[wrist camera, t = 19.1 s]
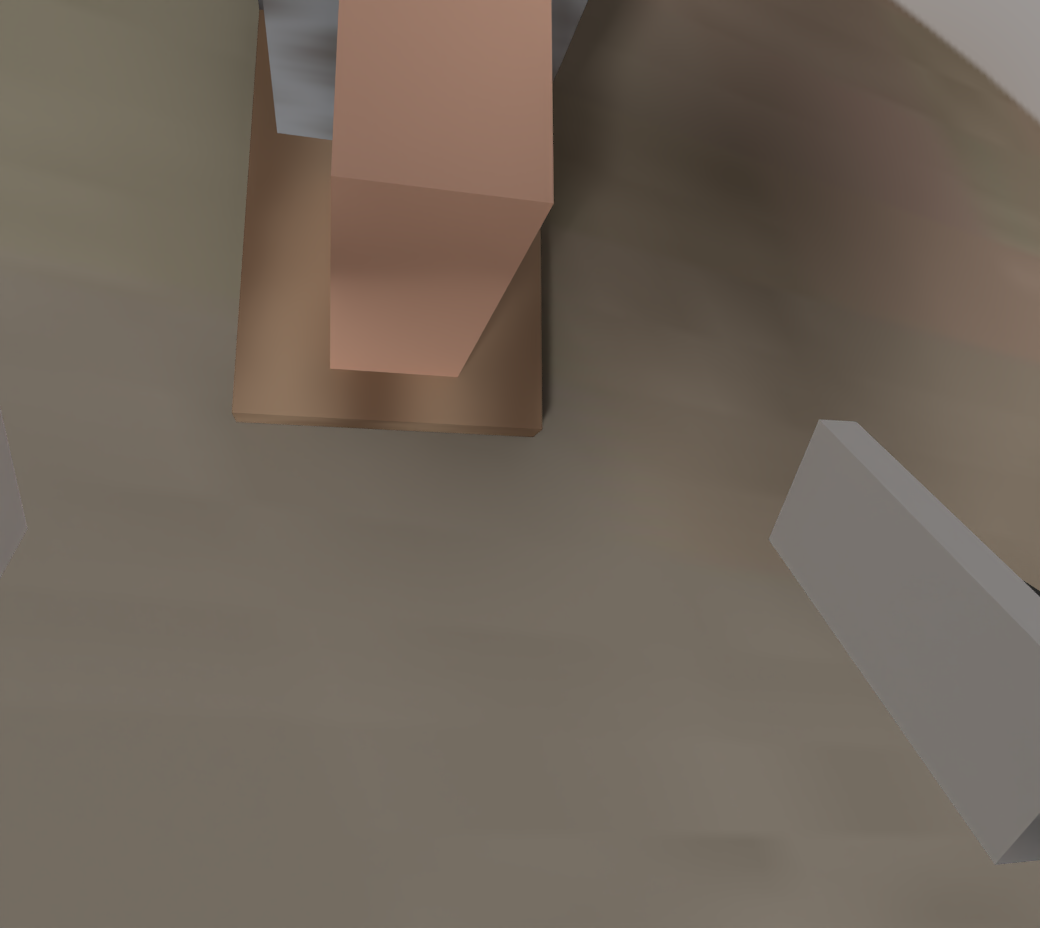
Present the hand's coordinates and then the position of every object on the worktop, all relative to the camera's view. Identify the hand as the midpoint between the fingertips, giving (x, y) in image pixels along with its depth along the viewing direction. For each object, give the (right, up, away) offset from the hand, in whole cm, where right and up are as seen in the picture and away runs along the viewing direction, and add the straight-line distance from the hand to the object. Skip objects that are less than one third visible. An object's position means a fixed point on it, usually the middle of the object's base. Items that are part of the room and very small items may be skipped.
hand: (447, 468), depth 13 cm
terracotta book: (-4, +8, +19) cm, 20 cm away
